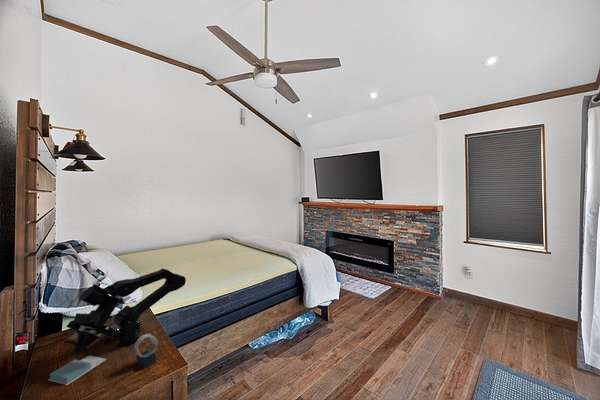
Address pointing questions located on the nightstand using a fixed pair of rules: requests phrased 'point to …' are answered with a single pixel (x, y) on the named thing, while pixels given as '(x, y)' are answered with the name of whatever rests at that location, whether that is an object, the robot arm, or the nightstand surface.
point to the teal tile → (70, 371)
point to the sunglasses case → (103, 338)
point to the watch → (146, 352)
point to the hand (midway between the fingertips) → (75, 353)
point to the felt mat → (89, 359)
